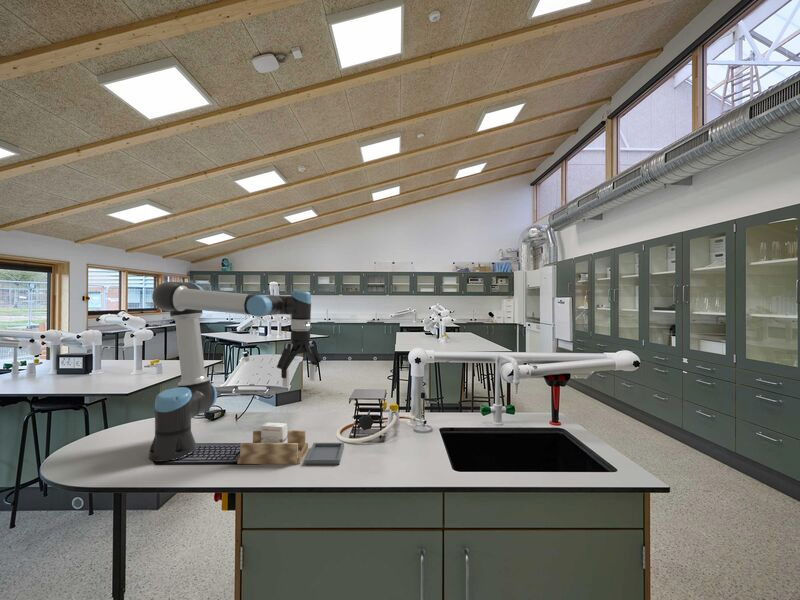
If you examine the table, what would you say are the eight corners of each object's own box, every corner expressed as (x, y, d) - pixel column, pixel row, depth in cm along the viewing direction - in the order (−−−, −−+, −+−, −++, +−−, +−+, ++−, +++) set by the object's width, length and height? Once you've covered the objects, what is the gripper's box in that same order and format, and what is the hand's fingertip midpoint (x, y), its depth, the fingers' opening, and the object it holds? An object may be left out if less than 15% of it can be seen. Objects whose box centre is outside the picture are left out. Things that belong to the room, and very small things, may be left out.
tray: (305, 465, 136) (305, 460, 136) (313, 447, 152) (313, 442, 152) (339, 464, 137) (339, 459, 137) (344, 447, 153) (344, 442, 153)
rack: (237, 463, 136) (237, 444, 136) (251, 448, 150) (251, 430, 150) (300, 463, 137) (300, 444, 137) (307, 448, 151) (308, 430, 151)
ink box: (288, 454, 145) (288, 422, 145) (282, 459, 141) (282, 427, 140) (266, 452, 147) (267, 421, 147) (260, 457, 142) (260, 425, 142)
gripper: (280, 332, 141) (279, 390, 141) (330, 328, 161) (328, 379, 162) (268, 331, 145) (266, 387, 145) (317, 327, 166) (316, 376, 166)
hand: (299, 383), depth 153 cm, fingers open, 13 cm apart
